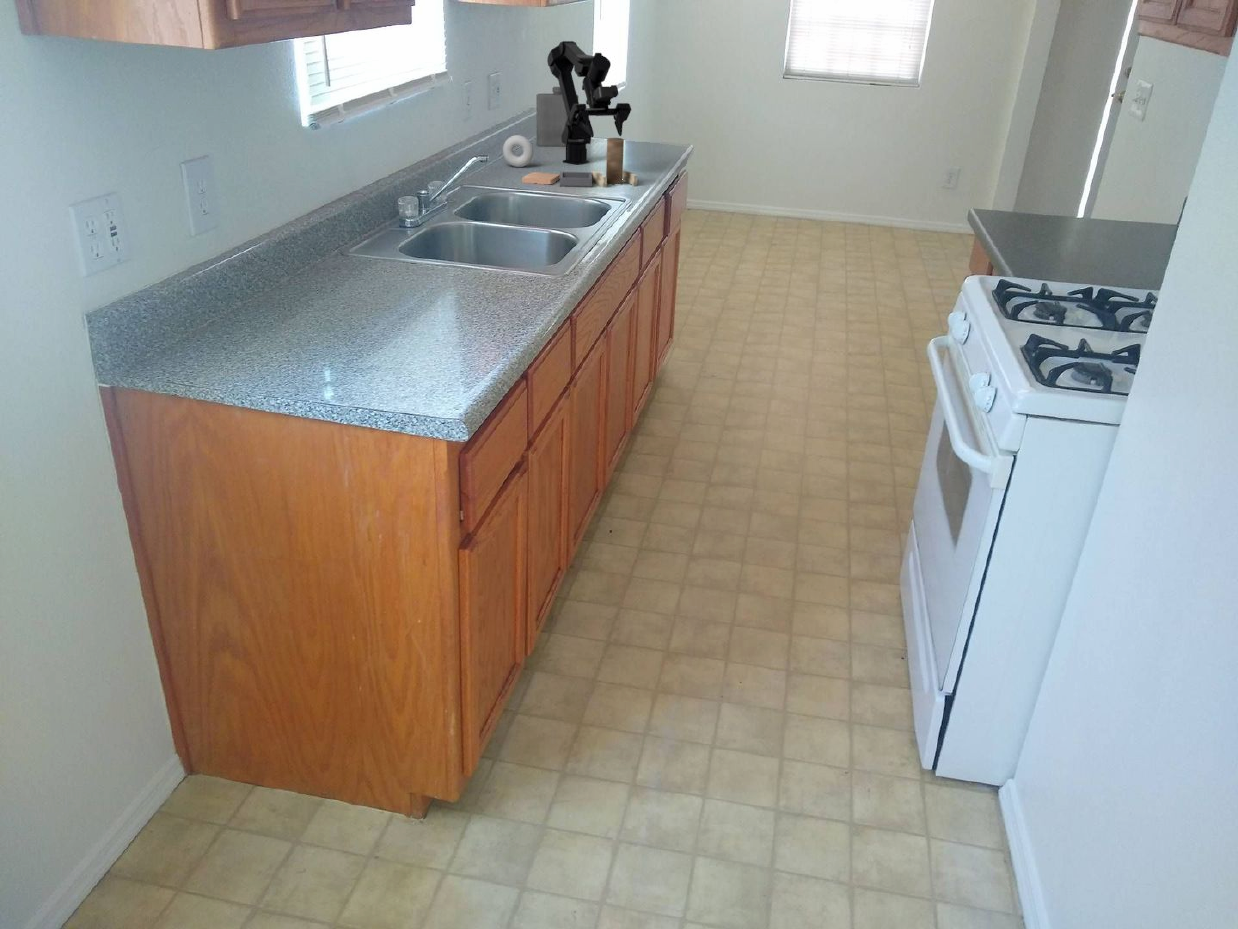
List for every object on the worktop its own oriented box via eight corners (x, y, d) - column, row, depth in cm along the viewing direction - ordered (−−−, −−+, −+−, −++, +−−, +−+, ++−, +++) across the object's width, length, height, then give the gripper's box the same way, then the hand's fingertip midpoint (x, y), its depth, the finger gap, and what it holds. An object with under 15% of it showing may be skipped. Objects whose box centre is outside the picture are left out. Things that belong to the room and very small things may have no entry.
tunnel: (591, 180, 293) (591, 170, 292) (624, 179, 297) (624, 169, 296) (603, 187, 285) (603, 177, 284) (637, 185, 289) (637, 175, 288)
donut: (534, 166, 310) (534, 134, 305) (532, 168, 307) (532, 136, 302) (504, 165, 310) (503, 133, 306) (502, 167, 307) (501, 135, 303)
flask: (577, 144, 350) (577, 86, 341) (578, 147, 345) (579, 88, 336) (536, 143, 349) (536, 85, 339) (537, 146, 344) (536, 87, 334)
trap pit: (560, 179, 293) (560, 171, 292) (591, 180, 293) (591, 172, 292) (559, 186, 284) (559, 177, 283) (591, 187, 285) (591, 178, 284)
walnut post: (602, 183, 291) (603, 138, 284) (612, 180, 294) (613, 137, 288) (615, 185, 288) (617, 141, 282) (625, 183, 292) (627, 139, 286)
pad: (532, 176, 295) (532, 171, 295) (560, 179, 293) (560, 174, 293) (522, 182, 288) (522, 177, 287) (550, 184, 286) (550, 179, 285)
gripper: (572, 75, 284) (585, 119, 280) (630, 74, 291) (643, 118, 287) (564, 99, 294) (575, 142, 290) (619, 98, 301) (631, 141, 297)
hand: (606, 135), depth 291 cm, fingers open, 9 cm apart
